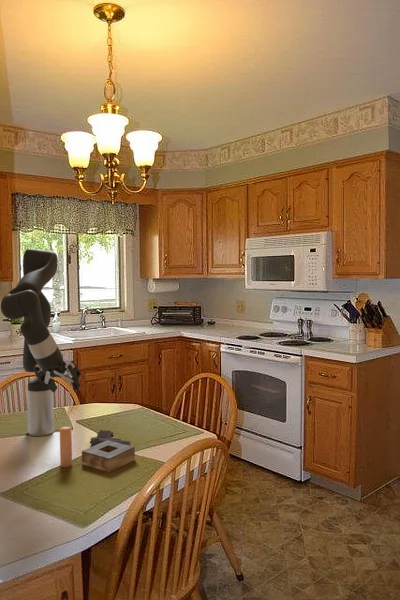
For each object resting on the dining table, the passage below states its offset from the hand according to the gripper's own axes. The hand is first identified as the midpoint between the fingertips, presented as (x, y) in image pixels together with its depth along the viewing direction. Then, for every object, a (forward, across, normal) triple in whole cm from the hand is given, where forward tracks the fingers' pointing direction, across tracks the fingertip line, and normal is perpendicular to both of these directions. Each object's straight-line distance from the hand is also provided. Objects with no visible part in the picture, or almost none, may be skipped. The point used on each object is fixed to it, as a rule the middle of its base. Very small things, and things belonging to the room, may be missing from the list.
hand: (66, 389), depth 154 cm
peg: (+22, +4, +12) cm, 25 cm away
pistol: (+35, 0, -9) cm, 36 cm away
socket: (+26, -8, +7) cm, 28 cm away
